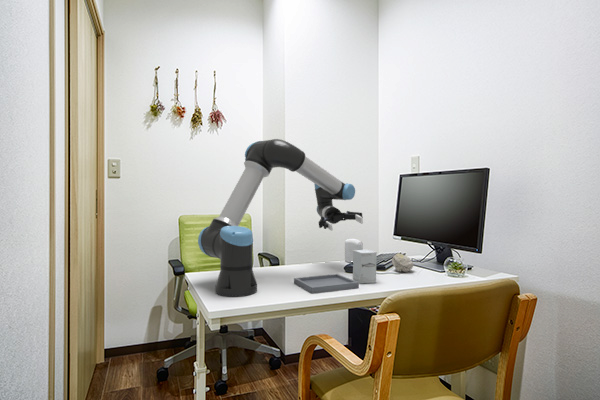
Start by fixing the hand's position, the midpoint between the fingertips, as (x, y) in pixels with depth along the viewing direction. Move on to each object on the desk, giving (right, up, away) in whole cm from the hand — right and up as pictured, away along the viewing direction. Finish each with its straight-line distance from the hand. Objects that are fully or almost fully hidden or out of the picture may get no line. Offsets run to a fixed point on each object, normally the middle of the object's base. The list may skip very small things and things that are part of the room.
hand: (346, 223), depth 159 cm
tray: (-10, -23, -11) cm, 28 cm away
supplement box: (+7, -24, -4) cm, 25 cm away
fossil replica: (+28, -23, +17) cm, 40 cm away
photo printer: (+8, -23, +36) cm, 44 cm away
